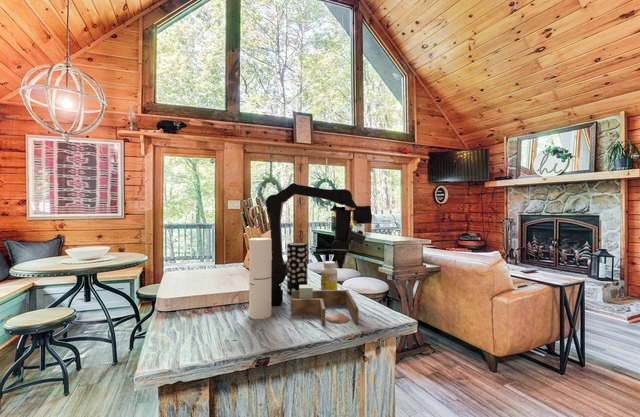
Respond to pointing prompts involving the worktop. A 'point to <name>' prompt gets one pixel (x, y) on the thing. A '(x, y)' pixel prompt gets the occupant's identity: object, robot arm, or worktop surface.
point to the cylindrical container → (260, 278)
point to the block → (305, 292)
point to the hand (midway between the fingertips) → (341, 266)
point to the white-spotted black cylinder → (296, 266)
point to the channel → (319, 302)
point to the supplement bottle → (329, 276)
